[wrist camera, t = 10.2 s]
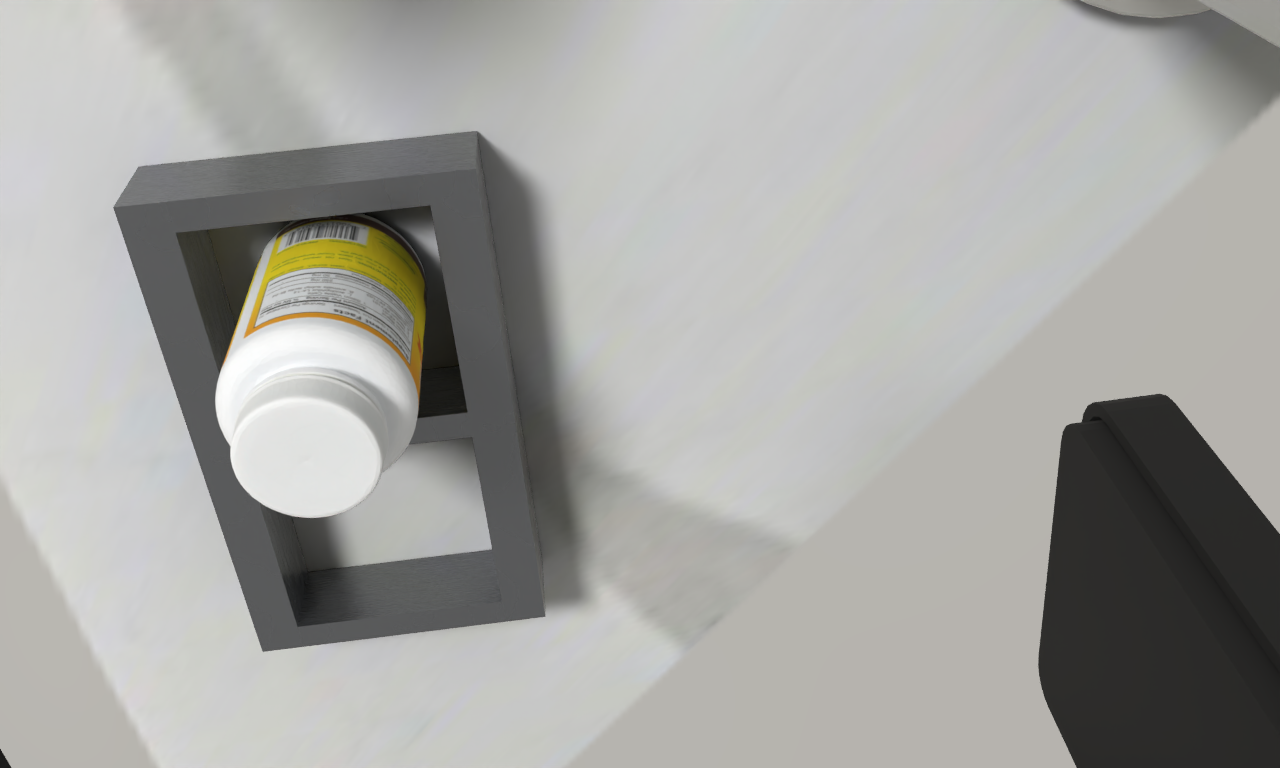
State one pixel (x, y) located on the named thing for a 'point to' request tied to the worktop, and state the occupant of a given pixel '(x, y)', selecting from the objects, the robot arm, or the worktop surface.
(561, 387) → the worktop surface
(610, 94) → the worktop surface
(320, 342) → the supplement bottle
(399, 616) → the dark grey divided tray
